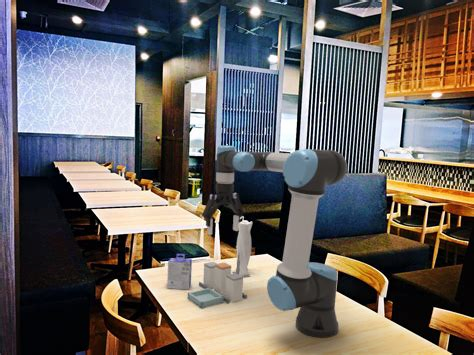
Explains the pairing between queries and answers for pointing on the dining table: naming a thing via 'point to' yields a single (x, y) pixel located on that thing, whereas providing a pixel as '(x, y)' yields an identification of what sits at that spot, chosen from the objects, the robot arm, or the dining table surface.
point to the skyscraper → (243, 248)
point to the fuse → (221, 277)
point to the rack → (232, 283)
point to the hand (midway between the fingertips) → (222, 232)
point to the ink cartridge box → (179, 272)
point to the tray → (205, 297)
